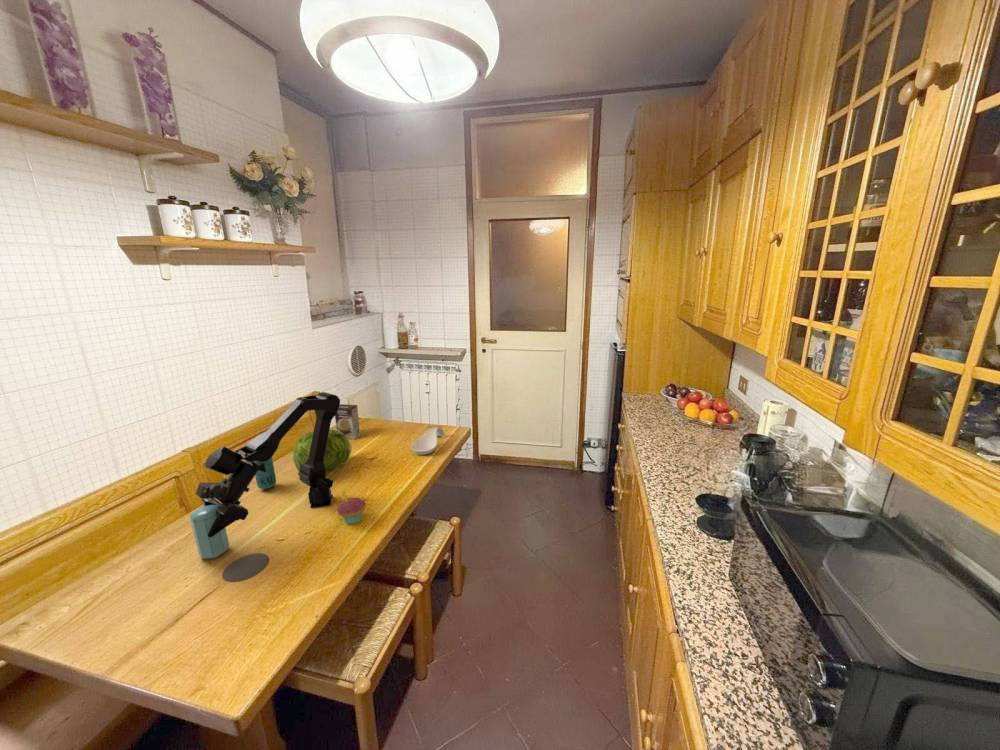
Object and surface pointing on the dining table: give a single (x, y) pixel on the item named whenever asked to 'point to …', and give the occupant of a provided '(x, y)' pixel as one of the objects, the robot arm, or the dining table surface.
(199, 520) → the blue-grey tall faceted cylinder
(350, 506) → the cupcake
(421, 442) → the spoon rest
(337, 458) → the lettuce
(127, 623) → the dining table surface
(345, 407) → the coffee box
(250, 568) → the disc
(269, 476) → the beverage bottle
